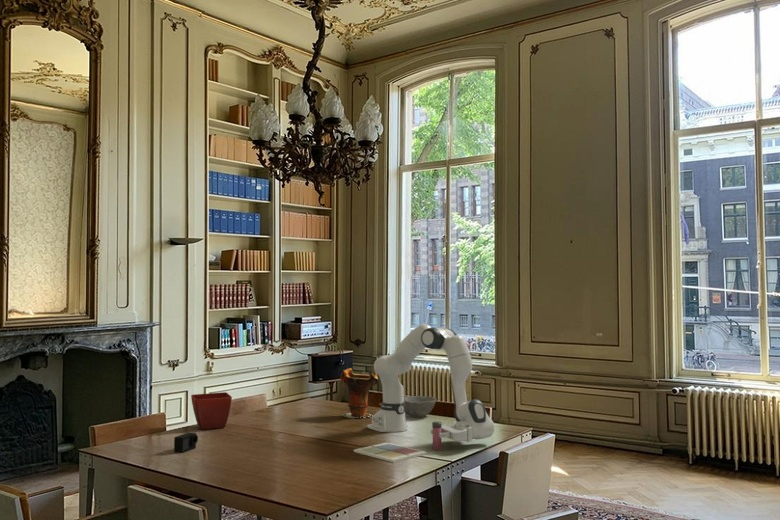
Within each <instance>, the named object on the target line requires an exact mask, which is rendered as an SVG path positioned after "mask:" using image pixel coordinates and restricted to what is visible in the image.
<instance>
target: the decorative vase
mask: <svg viewBox="0 0 780 520" xmlns="http://www.w3.org/2000/svg"><path fill="white" fill-rule="evenodd" d="M378 377H379V376H378V374H376V372H375V371H373V373H369V374H360V373H354V372H353V369H352V367H350V368H347V369H343V370H342V373H341V374H340V378H339V380H340V381H341V382H342V383H344V384H345V385H346V386H347V388H348V405H347V407H349V411H350V412H348V413H344V414H342V416H343V417H345V418H349V419H355V418H357V419H367V418H366V417H363V418H361V417H362V416H365V414H367V410H368V408H369V406H368V398H369V392H370V389H371V388H372V387H373V386H377V385H378V383H379V378H378ZM347 410H348V409H347V408H346V411H347ZM368 414H369V415H370V416H371V415H372V414H370V413H368ZM370 416H368V417H370ZM359 417H360V418H359ZM370 418H371V417H370Z"/></svg>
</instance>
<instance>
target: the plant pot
mask: <svg viewBox="0 0 780 520" xmlns="http://www.w3.org/2000/svg"><path fill="white" fill-rule="evenodd" d="M190 397H191V403H192V409H193V415H194V417H195V420H196V424H197V427H198V426H199V427H198V428H199V430H200V429H206V430H212V429H211V428H216V429H223V428H222V427H225V428H226V426H227V422H228V420H229V419H228V418H229V415H230V412H231V411H230V410H231V408H232V407H231V406H232V399H233V397H232V396H231V395H230V394H229V393H228V392H225V391H223V392H209V393H197V394H191V395H190Z"/></svg>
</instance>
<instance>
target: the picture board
mask: <svg viewBox="0 0 780 520" xmlns="http://www.w3.org/2000/svg"><path fill="white" fill-rule="evenodd" d="M353 452H354V453H357V454H360V455H365V456H369V457H372V458H376V459H380V460H383V461H387V462H391V463H396V462H400V461H404V460H408V459H413V458H417V457H421V456H424V455H427V453H428V452H427V451H425V450H424V451H423V450H421V449H417V448H412V447H407V446H402V445H398V444H395V443H390V442H384V443H383V442H382V443H378V444H373V445H370V446H365V447H359V448H354V449H353Z"/></svg>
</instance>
